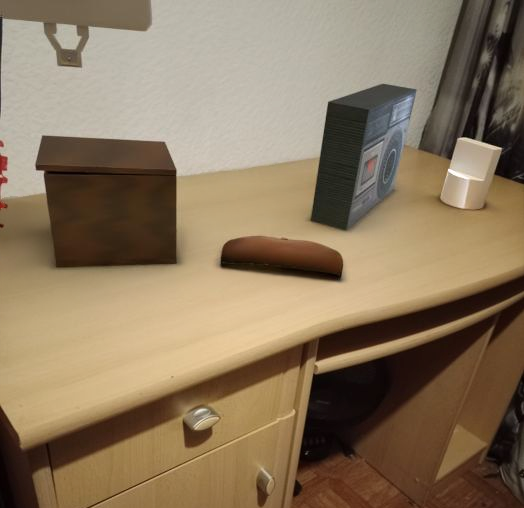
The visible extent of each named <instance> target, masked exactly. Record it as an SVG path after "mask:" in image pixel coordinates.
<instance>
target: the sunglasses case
mask: <svg viewBox="0 0 524 508" xmlns="http://www.w3.org/2000/svg"><path fill="white" fill-rule="evenodd" d="M220 264H234V265H256V266H263V265H264V266H265V265H266V266H270V267H277V268H278V267H279V268H284V269H285V268H286V269H298V270H302V271H308V272H309V271H311V272H317V273H325V274H332V275H333V274H334V275H339V277H340V278H342V276H343V269H344V260H343V256H342V254H341V252H339V251H338V250H337V249H334V248H332V247H330V246H327V245H326V244H325V245H324V244H322V243H319V242H316V241H310V240H305V239H289V238H287V237H280V238H279V237H275V236H267V235H247V236H242V237H241V236H240V237H236V238H231V239H229V240H227V241H225V242H224V244H223V246H222V250H221V253H220Z"/></svg>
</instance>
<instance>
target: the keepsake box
mask: <svg viewBox="0 0 524 508" xmlns="http://www.w3.org/2000/svg"><path fill="white" fill-rule="evenodd" d="M177 179H178V178H177V175H149V174H106V173H86V172H65V171H43V182H44V188H45V189H44V190H45V196H46V204H47V211H48V218H49V223H50V225H49V226H50V233H51V239H52V246H53V253H54V261H55V267H56V268H67V267H68V268H69V267H99V266H100V267H102V266H129V265H130V266H132V265H134V266H135V265H160V264H161V265H165V264H177V243H178V242H177V241H178V240H177V235H178V234H177V233H178V232H177V230H178V229H177V227H178V226H177V224H178V223H177V222H178V221H177V219H178V217H177V213H178V211H177V209H178V208H177V200H178V199H177V195H178V193H177V190H178V189H177V187H178V186H177V185H178V183H177V182H178V181H177Z"/></svg>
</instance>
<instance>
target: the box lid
mask: <svg viewBox="0 0 524 508" xmlns="http://www.w3.org/2000/svg"><path fill="white" fill-rule="evenodd" d="M34 166H35V171H37V172H39V171H40V172H44V171H65V172H93V173H121V174H149V175H176V176H177V175H178V174H177V173H178V170H177V168H176V165H175V161H174V160H173V158H172V155H171V153H170V150H169V148H168V146H167V143H166V141H162V140H161V141H159V140H158V141H157V140H139V139H138V140H137V139H119V138H100V137H83V136H66V135H65V136H63V135H62V136H61V135H45V134H44V135H43V134H42V135H41V139H40V143H39V147H38V151H37V155H36V159H35V164H34Z"/></svg>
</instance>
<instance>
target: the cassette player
mask: <svg viewBox="0 0 524 508" xmlns="http://www.w3.org/2000/svg"><path fill="white" fill-rule="evenodd" d="M417 91H418V89H416V88H411V87H405V86H399V85H393V84H389V83H380V84H378V85H374V86H371V87H369V88H365V89H362V90H359V91H357V92H353V93H350V94H347V95H344V96H341V97H338V98H335V99H332V100H328V101H327V106H326V112H325V113H326V114H325V119H324V125H323V133H322V141H321V146H320V154H319V160H318V166H317V167H318V168H317V173H316V179H315V188H314V194H313V200H312V209H311V214H310V221H311V222H314V223H318V224H321V225H325V226H328V227H333V228H336V229H339V230H343V231H347V230H349V229H350V228H351V227H353V225H355V224H356V223H357V222H359V220H360V219H362V218H363V217H364V216H365V215H367V213H369V212H370V211H371V210H372V209H373V208H374V207H376V206H377V205H378V204H379V203H380V202H382V200H384V199H385V198H386V197H387V196H388V195H390V193H392V192H393V191H394V190H395V185H396V181H397V177H398V172H399V168H400V164H401V159H402V155H403V151H404V146H405V142H406V138H407V133H408V129H409V126H410V122H411V117H412V112H413V109H414V108H413V107H414V103H415V99H416V95H417Z"/></svg>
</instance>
